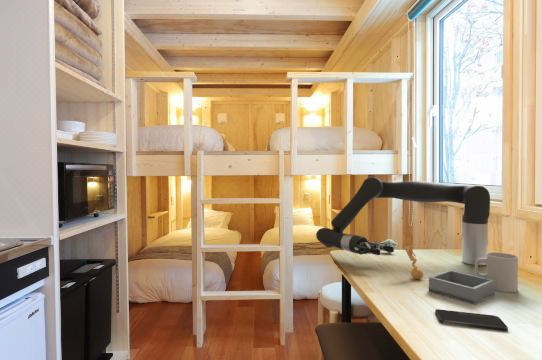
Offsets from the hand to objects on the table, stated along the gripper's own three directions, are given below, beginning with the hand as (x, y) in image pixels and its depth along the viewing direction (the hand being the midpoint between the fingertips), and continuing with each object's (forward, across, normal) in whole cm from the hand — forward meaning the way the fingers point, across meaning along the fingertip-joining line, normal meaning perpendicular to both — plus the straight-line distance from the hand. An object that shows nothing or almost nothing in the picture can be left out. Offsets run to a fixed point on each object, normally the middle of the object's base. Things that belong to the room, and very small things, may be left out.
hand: (386, 251), depth 129 cm
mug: (+33, +14, +8) cm, 36 cm away
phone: (+39, -21, +8) cm, 45 cm away
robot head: (-18, +27, +8) cm, 33 cm away
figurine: (+11, 0, +8) cm, 14 cm away
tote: (+28, -1, +8) cm, 29 cm away
